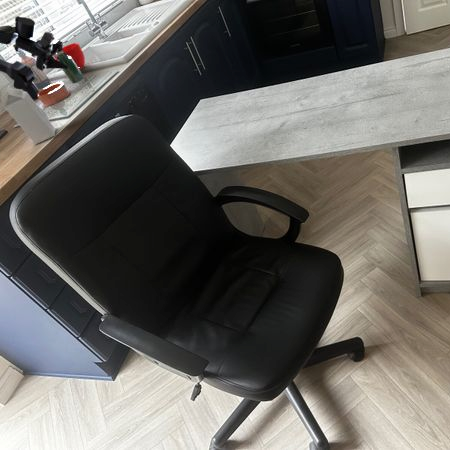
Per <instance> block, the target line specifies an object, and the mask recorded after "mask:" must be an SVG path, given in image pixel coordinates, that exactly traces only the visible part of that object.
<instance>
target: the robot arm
mask: <svg viewBox="0 0 450 450" xmlns="http://www.w3.org/2000/svg"><path fill="white" fill-rule="evenodd" d="M14 21H15V23H14V24H15V25H14V26H11V25H10V24H9V25H2V26H1V25H0V44H1V45H10V44H12V43H13V42H15V43H14V44H13V45H12V47H13V48H14V51H15V52H16V53H18V52H20V51H25V52H27V53H28V54H31V57H32V58H35V57H36V59H35V68H36V69H37V70H39V71H41V72H43V71H44V70H45V69H46V70H48V69H58V70H59V69H61V70H62V69H68V66H66V65H65V64H63V63H61V62H59V61H58V59H59V57H58V55H56V53H57V52H58V51H61V50H62V51H63V49H62V48H63V47H64V42H63V41H61V40H56V41H54V40H55V36H54V34H53V33H52V32H50V31H44V33H43V34H42V36H41V38H40V39H37V40H35V39H33V38H34V37H35V30H36V29H35V28H36V21H34V19H32V18H30V17H26V16H25V17H24V16H20V15H17V16H15V18H14ZM53 41H54V42H53ZM52 42H53V43H52ZM51 43H52V44H51ZM63 53H64V55H65V56H66V55H67V54H66V53H65V52H64V51H63ZM54 56H55V57H57V60H56V59H55V57H54ZM68 57H69V56H68ZM73 61H74V60H73ZM0 72H1V73H4V74H6V75H7V76H8V78H10V80H12V81H13V88H14V89H20V90H22V91H25V92H27V93H28V94H29V95H30V97H31V98H32V99H33V100H34V101H35V100H36V99H39V98H38V97H37V94H38V93H39V92H40V91H41V90H39V88H38V86H37V85H36V84H35V82H34V81H35V80H36V77H35V73H34V70H32V68H31V67H30V66H28V64H27V63H23V62H21V61H18V60H16V61H15V62H9V61H6V60H4V59H1V58H0Z"/></svg>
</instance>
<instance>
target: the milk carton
mask: <svg viewBox="0 0 450 450" xmlns="http://www.w3.org/2000/svg"><path fill="white" fill-rule="evenodd" d="M5 94H6V96H7V97H6V101H5V104H4V109H5V110H6V111H7V112H8V113H9V115H10V116H11V118H13V120H14V121H15V122H16V123H17V124H18V125H19V126H20V128H21V129H22V130H23V132H24V133H25V134H26V135H27V136H28V137H29V138H30V140H31V141H32V143H34V144H35V145H37V144H40V143H42V142H44V141H46V140H48V139H50V138H53V137H55V134H56V127H55V126H54V125H53V123H52V122H51V121H50V120H49V118H48V117H47V116H46V115H45V113H44V112H43V111H42V110H41V108H40V107H39V105H38V104H37V103H36V102H35V100H33V99H32V98H31V97H30V95H29V94H28V93H27V92H25V91H23V90H22V89H16V88H12V87H11V86H10V85H7V87H6V89H5Z"/></svg>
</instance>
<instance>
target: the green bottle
mask: <svg viewBox="0 0 450 450" xmlns="http://www.w3.org/2000/svg"><path fill="white" fill-rule="evenodd" d="M56 55H58V57H59V59H58V61H59V62H61V63H63V64H65V65H66V66H68V69H61V70H62V71H63V73H64V75H66V77H67V79H68V80H69V82H70V83H71V84H77V83H79V82H82V81H83V80H84V79H85V76H84V74H83V73H82V72H81V69H80V70H79V69H78V67H77V65H76V64H75V62H74V61H73V59H72V58H71V57H68V55H66V56H65V55H64V53H63V51H62V50H61V51H58V52H57V53H56Z"/></svg>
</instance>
